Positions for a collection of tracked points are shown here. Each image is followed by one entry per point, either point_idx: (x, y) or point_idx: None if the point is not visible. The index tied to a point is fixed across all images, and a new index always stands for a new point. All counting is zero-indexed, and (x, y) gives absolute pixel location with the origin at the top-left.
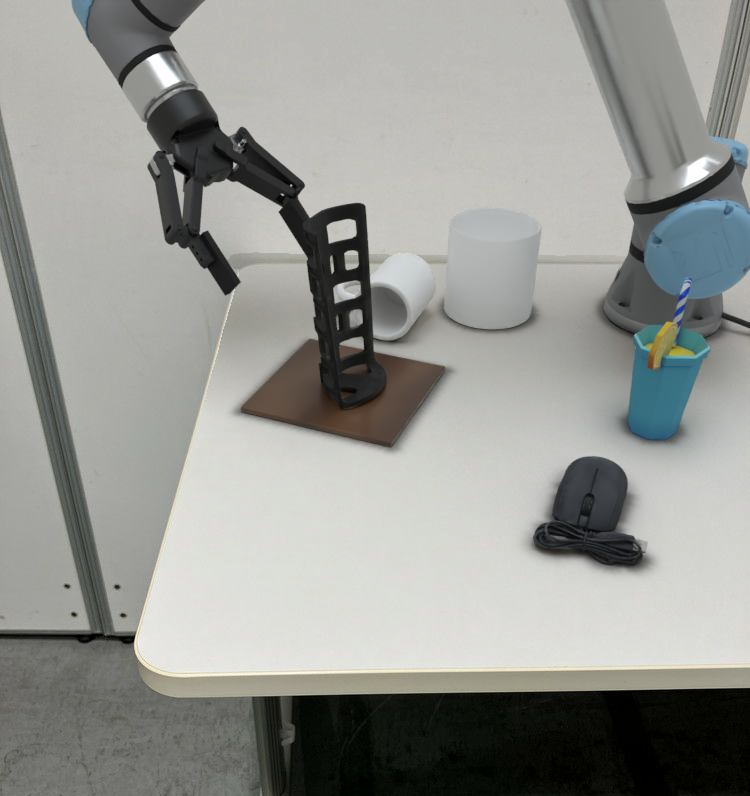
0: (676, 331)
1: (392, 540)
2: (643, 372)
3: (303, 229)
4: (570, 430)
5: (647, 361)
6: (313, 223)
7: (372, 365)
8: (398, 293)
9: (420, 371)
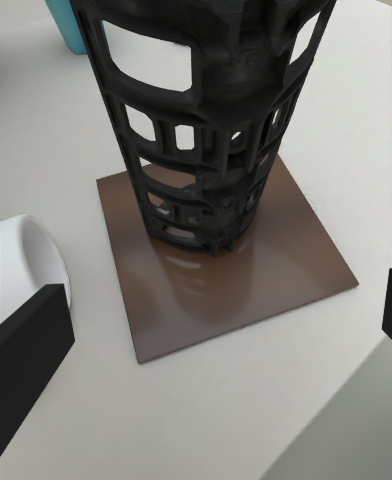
0: None
1: (352, 72)
2: None
3: (30, 340)
4: (129, 70)
5: None
6: None
7: (158, 224)
8: (25, 222)
9: (123, 190)
